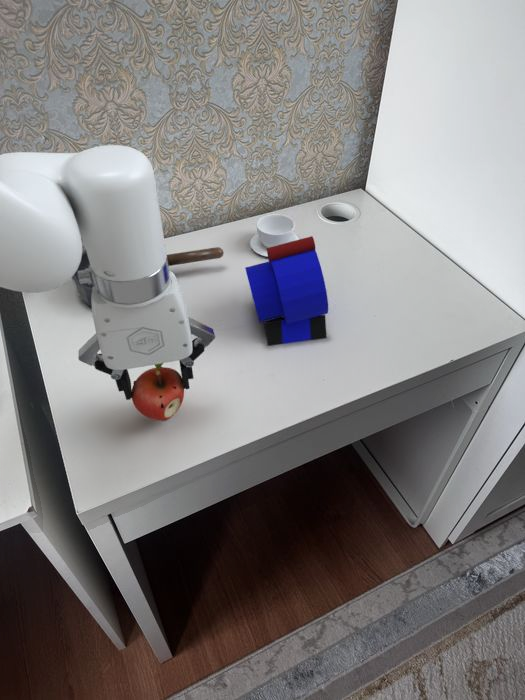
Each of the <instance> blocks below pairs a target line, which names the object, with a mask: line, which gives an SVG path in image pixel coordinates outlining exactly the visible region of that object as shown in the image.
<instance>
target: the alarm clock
mask: <svg viewBox="0 0 525 700" xmlns="http://www.w3.org/2000/svg"><path fill="white" fill-rule="evenodd" d="M315 242H316V241H315V239H314V237H313V235H311V236H307V237H303V238H299V240H296V241H292V242H288V243H284V244H280V245H277V246H273V247H269V248H267V254H268V257H267V260H268V261H265V262H261V263H257V264H254V265H251V266H246V267H244V269H245V274H246V277H247V281H248V285H249V289H250V291H251V296H252V300H253V304H254V307H255V308H254V309H255V311H256V315H257V318H258V322H259V323H263V327H264V332H265V337H266V338H265V339H266V342H267V343H266V344H267V347H269V346H270V347H271V346H276V345H284V344H285V345H286V344H292V343H299V342H306V341H315V340H320V339H327V323H326V322H327V321H326V315H327V314H329V300H328V293H327V292H328V291H327V287H326V282H325V278H324V274H323V270H322V265H321V262H320V259H319V256H318V254H317V250H316V249H317V248H316V243H315ZM278 318H283V319H281V320H274V319H278ZM271 320H274V321H271ZM267 321H268V322H267Z"/></svg>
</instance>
